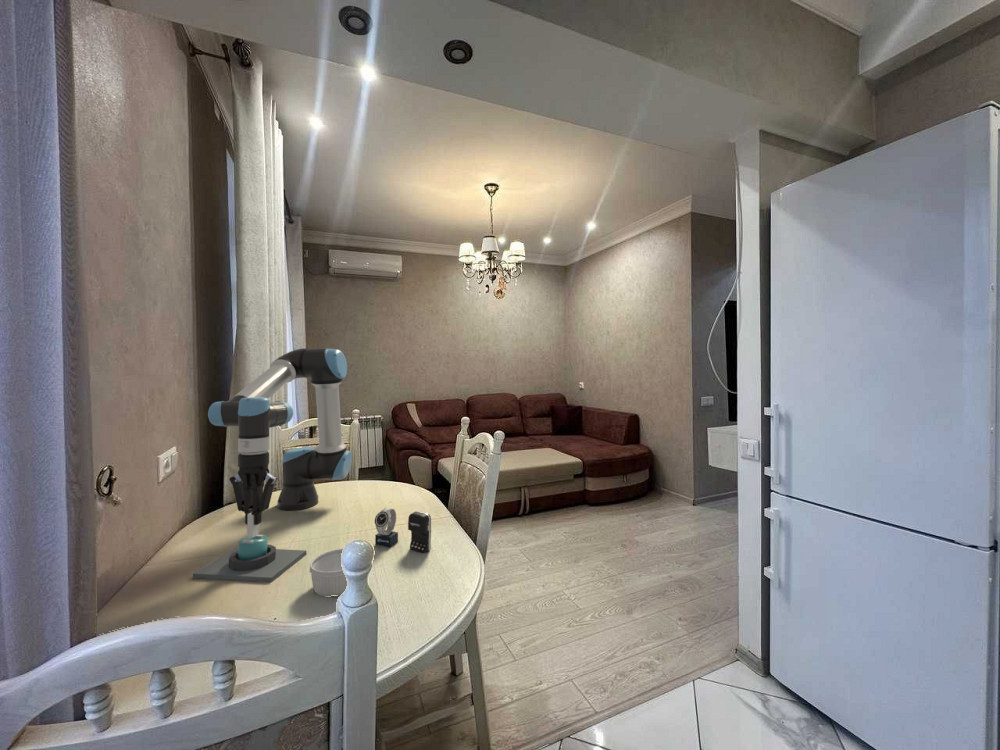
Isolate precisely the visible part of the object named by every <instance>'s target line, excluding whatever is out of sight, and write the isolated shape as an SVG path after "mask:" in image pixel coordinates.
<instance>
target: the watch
mask: <svg viewBox="0 0 1000 750" xmlns="http://www.w3.org/2000/svg"><path fill="white" fill-rule="evenodd" d="M396 522H397V512H396V510H395V509H394V508H391V507H390V508H389V507H385V508H383V509H381V510H380V511H379V512H378V513H377V514H376V515H375V517H374V524H375V529H376V531H377V533H376V534H374V535H375V537H374V538H375V539H374V543H375V544H374V545H375V546H380V547H385V548H386V547H387V548H391V547H393V546H394V545H396V544H397V543H399V532H398V531H394V529H395V528H396V527H395V526H396Z"/></svg>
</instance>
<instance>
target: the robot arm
mask: <svg viewBox="0 0 1000 750" xmlns="http://www.w3.org/2000/svg"><path fill="white" fill-rule="evenodd" d="M347 373H348V363H347V359H346V357H345V355H344V353H343V352H342V351H341V350H340V349H335V348H298V349H293V350H291V351H288V352H287V353H286V352H285V354H283V355H281V356H279V357H278V358H276V359H275V360H273V361H272V362H271V363H270V365H269V368H268V369H267V370H265V371H264V372H263V373H262V374H261V375H259V376H257V378H255V379H254V380H252V381H251V382H250V383H249V384H247V385H246V386H245V387H244V388H243V389H242V390H240V391H238V393H236V394H235V395H234V396H233V397H231V398H230V399H229V400H227V401H225V400H222V401H215V402H213V403H212V404H211V405H210V406H209V408H208V411H207V417H208V421H209V422H210V423H211V424H212V425H213V426H216V427H226V428H227V427H238V439H237V441H238V442H237V443H238V444H237V447H238V448H237V452H238V453H239V454H238V455H237V467H238V468H239V469H238V471H237V473H236V475H233V476H230V477H229V482H230V484H231V485H232V489H233V493H234V497H235V503H236V507H237V510H238V511H239V512H242V513H244V515H245V516H244V517H245V519H244V524H245V525H247V530H246V531H247V533H246V534H247V536H246V537H247V538H253V537H255V536H256V535H260V524H261V523H262V519H263V518H262V513H263V512H264V511H267V510H269V508H270V503H271V499H272V497H273V495H272V494H273V491H274V487H275V483H277V481H278V476H276V475H275V476H274V475H272V474H270V473H271V471H270V469H269V464H270V452H269V450H270V428H274V427H282V426H283V425H285V424H288V423H289V422H290V421H292V418H293V417H294V410H293V407H292V406H291V404H290V403H289V402H286V401H282V400H281V401H278V400H276V401H271V400H270V398H271V397H272V396H273V395H275V393H276V392H277V391H278V390H280V389H281V387H283V386H284V385H285V384H287V383H291V382H293V380H295V379H301V378H302V379H309V380H310V384H311V385H312V386H313V387H314V388H315V402H316V413H317V414H316V416H317V431H318V445H317V446H316V447H314V446H302V447H298V448H293V449H289V450H286V451H284V453H283V455H282V462H281V463H282V487H281V490H280V493H279V496H278V499H277V504H276V505H277V509H279V510H281V511H298V510H304V509H308V508H311V507H312V508H313V507H314V506H316V505H318V504H319V494H318V492H317V489H316V485H315V480H328V481H329V480H332V481H335V480H343V479H345V478H346V477H347V476H348V475H349V472H350V470H351V467H352V464H353V463H352V462H353V453H352V451H350V450H347V445H346V444H345V443H344V442H343V441H342V440H343V438H342V422H341V421H342V420H341V404H340V403H341V401H340V389H339V388H340V387H339V386H340V385H341V384H342V383H343V379H344V378H346V376H347Z"/></svg>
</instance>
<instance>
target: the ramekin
mask: <svg viewBox="0 0 1000 750" xmlns="http://www.w3.org/2000/svg"><path fill="white" fill-rule="evenodd" d="M343 549H344V548H337V549H331V550H329V551H326V552H323V553H321V554H319V555H318V556H316V557H314V558H313V559H312V560H311V562H310V563H309V572H310V574H311V581H312V587H313V590H314V592H315V593H317V595H318V596H320V597H323V596H331V595H338V597H341V596H340V595H341V594H342V593H343V592H344V591H345V589H346V586H347V581H346V577H345V575H344V573H343V570H342V567H341V553H342V550H343Z"/></svg>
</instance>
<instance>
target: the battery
mask: <svg viewBox="0 0 1000 750" xmlns="http://www.w3.org/2000/svg"><path fill="white" fill-rule="evenodd" d="M407 520H408V521H407V523H408V524H407V530H408V531H410V532H411V535H410V536H411V537H410V538H411V539H410V544H409V549H410V550H412V551H415V552H419V553H423V554H424V553H427V552H429V551H430V550H431V549H432V548H431V537H432V516H431V514H429V513H428V512H424V511H420V510H415V511H414V512H412V513H410V514H409V515H408V519H407Z"/></svg>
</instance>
